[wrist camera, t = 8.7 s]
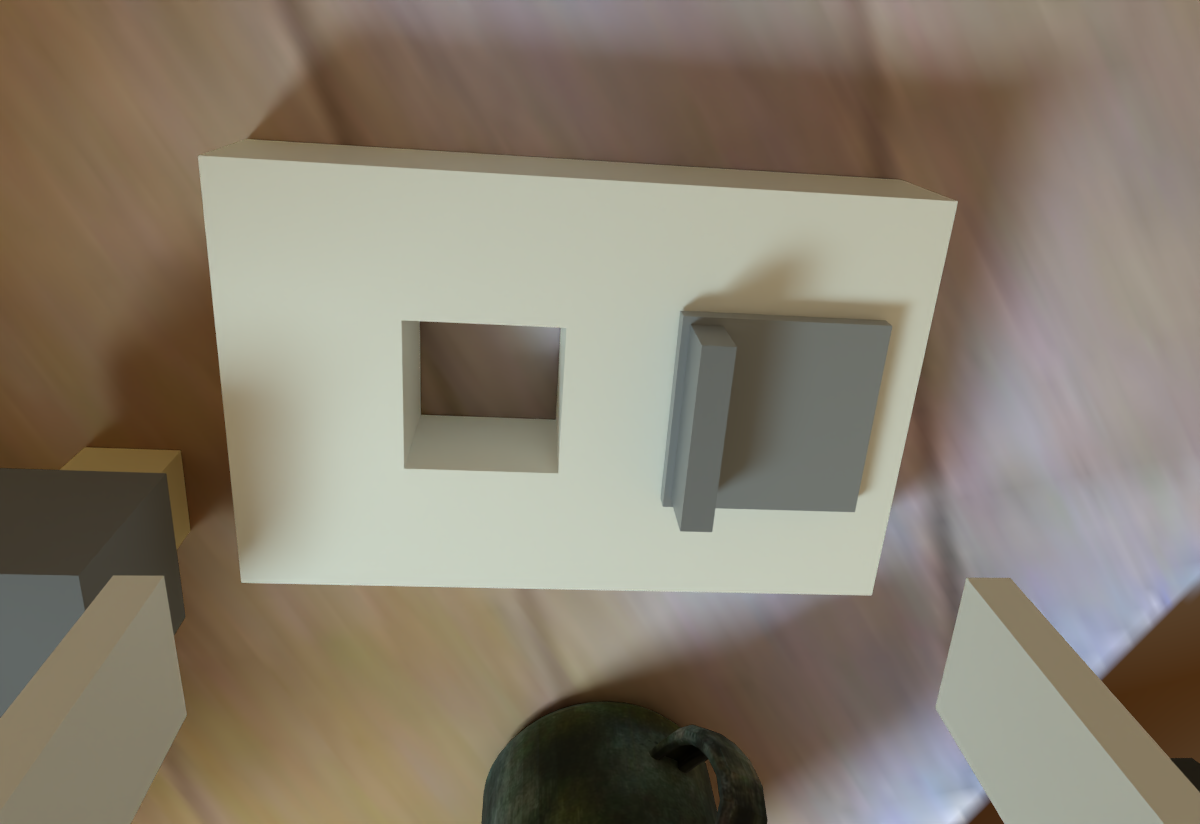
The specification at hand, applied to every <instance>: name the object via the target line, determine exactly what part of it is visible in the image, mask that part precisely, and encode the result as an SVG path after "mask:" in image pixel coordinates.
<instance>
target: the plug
mask: <svg viewBox="0 0 1200 824" xmlns="http://www.w3.org/2000/svg"><path fill="white" fill-rule="evenodd" d="M190 531H191V530H190V522H189V514H188V505H187V497H186V489H185V481H184V473H183V465H182V457H181V450H152V449H122V448H91V447H84V448H83V449H82V450H81V451H80V452H79V453H78V454H77V455H76V456H74V457H73V458H72V459H71V460H70V461H69V462H68V463H67V464H65V465H64V466H63V467H62V468H61V469H60V470H44V469H11V468H0V718H1V717H2V715H3V714H4V713H5V712H6V710H7V709H8V708H9V707H10V705H11V704H12V703H13V702H14V700H15V699H16V698H17V696H18V695H19V694H20V693H21V691H22V690H23V689H24V688H25V686H26V685H27V684H28V683H29V681H30V680H31V679H32V677H33V676H34V675H35V674H36V672H37V671H38V670H39V669H40V667H41V666H42V665H43V664H44V662H45V661H46V660H47V658H48V657H49V656H50V655H51V653H52V652H53V651H54V650H55V648H56V647H57V646H58V645H59V643H60V642H61V641H62V640H63V638H64V637H65V636H66V634H67V633H68V632H69V631H70V629H71V628H72V627H73V626H74V624H75V623H76V622H77V621H78V619H79V618H80V617H81V615H82V614H83V613H84V612H85V610H86V609H87V608H88V607H89V605H90V604H91V603H92V602H93V600H94V599H95V598H96V596H97V595H98V594H99V593H100V591H101V590H102V589H103V588H104V586H105V585H106V584H107V583H108V581H109V580H110V579H111V577H112V576H113V575H115V576H164V579H165V585H166V591H167V597H168V603H169V609H170V616H171V622H172V628H173V634H174V635H175V633H176V631H177V630H178V628H179V627H180V625H181V623H182V622H183V620H184V618H185V610H184V603H183V595H182V587H181V580H180V572H179V565H178V557H177V549H178V548H179V546H180V545H181V543H182V542H183V540H184V539H185V538H186V536H187V535H188V533H189V532H190Z"/></svg>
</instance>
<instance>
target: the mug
mask: <svg viewBox="0 0 1200 824" xmlns="http://www.w3.org/2000/svg"><path fill="white" fill-rule="evenodd" d="M708 759H709V761H710V763H711V765H712V767H713V769H714V771H715V773H716V776H717V783H718V790H719V797H720V803H719V807H718V812H717V809H716V804H715V800H714V796H713V792H712V787H711V783H710V779H709V775H708V770H707V767H706V764H705V761H706V760H708ZM482 824H767V815H766V808H765V801H764V794H763V787H762V784H761V782H760V780H759V778H758V776H757V774H756V772H755V770H754V768H753V766H752V764H751V762H750V760H749V759H748V758H747V757H746V756H745V754H744V753H743V752H742V751H741V750H740V749H739V748H738V747H737V746H736V745H735V744H734V743H733V742H731V741H730V740H729V739H727V738H726V737H724V736H723V735H721V734H719V733H716V732H713V731H710V730H708V729H705V728H701V727H698V726H695V725H689V726H686V727H682V728H680V727H679V726H678V725H677V724H675V723H674V722H672V721H670V720H669V719H667V718H665V717H663V716H662V715H660V714H658V713H656V712H654V711H652V710H649V709H646V708H644V707H641V706H637V705H632V704H628V703H621V702H609V701H607V702H589V703H583V704H577V705H573V706H569V707H566V708H563V709H559V710H557V711H555V712H552V713H550V714H548V715H546V716H543V717H542V718H540V719H538V720H537V721H535V722H533V723H532V724H530V725H529V726H527V727H526V728H525V729H524V730H523V731H521V732H520V733H519V734H518V735H517V736H516V737H514V738H513V739H512V740H511V741H510V742H509V744H508V745H507V746H506V747H505V748H504V749H503V750H502V751H501V753H500V754H499V755H498V757H497V759H496V760H495V762H494V763H493V765H492V767H491V769H490V772H489V774H488V777H487V779H486V784H485V789H484V796H483V810H482Z"/></svg>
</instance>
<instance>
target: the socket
mask: <svg viewBox="0 0 1200 824" xmlns="http://www.w3.org/2000/svg"><path fill="white" fill-rule="evenodd" d="M198 162H199V172H200V182H201V192H202V202H203V212H204V221H205V231H206V241H207V251H208V261H209V270H210V280H211V290H212V300H213V310H214V319H215V329H216V339H217V349H218V359H219V369H220V378H221V388H222V398H223V408H224V418H225V427H226V437H227V447H228V457H229V467H230V476H231V486H232V496H233V506H234V516H235V526H236V535H237V545H238V555H239V565H240V575H241V583H272V584H322V585H372V586H421V587H471V588H521V589H571V590H621V591H671V592H720V593H770V594H820V595H870V596H872V592H873V587H874V583H875V578H876V574H877V569H878V565H879V560H880V556H881V551H882V546H883V542H884V537H885V533H886V528H887V524H888V519H889V514H890V510H891V505H892V501H893V496H894V492H895V487H896V482H897V478H898V473H899V469H900V464H901V460H902V455H903V451H904V446H905V441H906V437H907V432H908V428H909V423H910V419H911V414H912V409H913V405H914V400H915V396H916V391H917V387H918V382H919V377H920V373H921V368H922V364H923V359H924V355H925V350H926V345H927V341H928V336H929V332H930V327H931V323H932V318H933V314H934V309H935V304H936V300H937V295H938V291H939V286H940V282H941V277H942V272H943V268H944V263H945V259H946V254H947V250H948V245H949V240H950V236H951V231H952V227H953V222H954V218H955V213H956V208H957V204H958V201H956V200H953V199H950V198H948V197H945V196H943V195H940V194H937V193H935V192H932V191H929V190H927V189H924V188H922V187H919V186H916V185H914V184H911V183H909V182H906V181H903V180H898V179H882V178H866V177H850V176H833V175H817V174H801V173H785V172H769V171H753V170H737V169H721V168H705V167H689V166H673V165H657V164H640V163H624V162H608V161H592V160H576V159H560V158H544V157H528V156H512V155H496V154H480V153H463V152H447V151H431V150H415V149H399V148H383V147H367V146H351V145H335V144H319V143H303V142H287V141H270V140H254V139H245V140H242V141H239V142H236V143H233V144H230V145H227V146H224V147H222V148H219V149H216V150H213V151H210V152H207V153H204V154H201V155H198ZM680 311H700V312H721V313H742V314H763V315H784V316H805V317H826V318H847V319H867V320H886V321H887V322H888V323H889V324H891V325H892V331H891V336H890V341H889V346H888V351H887V356H886V361H885V366H884V371H883V376H882V380H881V385H880V390H879V395H878V400H877V405H876V410H875V415H874V420H873V425H872V430H871V435H870V440H869V445H868V450H867V455H866V460H865V465H864V470H863V475H862V480H861V485H860V489H859V494H858V499H857V504H856V509H855V512H829V511H794V510H759V509H723V508H715V515H714V523H713V530H712V532H685V531H680V529H679V526H678V522H677V519H676V515H675V512H674V509H673V507H663V506H662V502H661V488H662V479H663V469H664V460H665V450H666V441H667V432H668V422H669V413H670V403H671V394H672V384H673V375H674V365H675V356H676V347H677V337H678V328H679V318H680ZM420 321H427V322H449V323H471V324H493V325H515V326H536V327H558V328H561V329H560V348H559V366H558V385H557V404H556V420H551V419H524V418H497V417H469V416H442V415H421V376H420Z"/></svg>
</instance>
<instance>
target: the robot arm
mask: <svg viewBox="0 0 1200 824" xmlns="http://www.w3.org/2000/svg"><path fill="white" fill-rule="evenodd" d="M935 709H936V710H937V712H938V714H939V715H940V717H941V719H942V720H943V722H944V724H945V725H946V727H947V729H948V730H949V732H950V734H951V735H952V737H953V739H954V740H955V742H956V744H957V745H958V747H959V749H960V750H961V752H962V754H963V755H964V757H965V759H966V760H967V762H968V764H969V765H970V767H971V769H972V770H973V772H974V774H975V775H976V777H977V779H978V780H979V782H980V784H981V785H982V787H983V789H984V790H985V792H986V794H987V795H988V797H989V799H990V800H991V802H992V804H993V805H994V807H995V808H996V810H997V812H998V813H999V815H1000V817H1001V818H1002V820H1003V822H1004V824H1200V763H1198V762H1196V761H1195V760H1194V759H1192V758H1169V757H1168V756H1167V755H1166V754H1165V753H1164V751H1163V750H1162V749H1161V748H1160V747H1159V746H1158V745H1157V744H1156V743H1155V741H1154V740H1153V739H1152V738H1151V737H1150V736H1149V735H1148V733H1147V732H1146V731H1145V730H1144V729H1143V728H1142V727H1141V726H1140V724H1139V723H1138V722H1137V721H1136V720H1135V719H1134V718H1133V717H1132V715H1131V714H1130V713H1129V712H1128V711H1127V710H1126V708H1125V707H1124V706H1123V705H1122V704H1121V703H1120V702H1119V701H1118V699H1116V697H1115V696H1114V695H1113V694H1112V693H1111V692H1110V691H1109V689H1108V688H1107V687H1106V686H1105V685H1104V684H1103V682H1102V681H1101V680H1100V679H1099V678H1098V677H1097V676H1096V675H1095V673H1094V672H1093V671H1092V670H1091V669H1090V668H1089V667H1088V666H1087V664H1086V663H1085V662H1084V661H1083V660H1082V659H1081V658H1080V656H1079V655H1078V654H1077V653H1076V652H1075V651H1074V650H1073V649H1072V647H1071V646H1070V645H1069V644H1068V643H1067V642H1066V641H1065V640H1064V638H1063V637H1062V636H1061V635H1060V634H1059V633H1058V632H1057V630H1056V629H1055V628H1054V627H1053V626H1052V625H1051V624H1050V623H1049V621H1048V620H1047V619H1046V618H1045V617H1044V616H1043V615H1042V614H1041V612H1040V611H1039V610H1038V609H1037V608H1036V607H1035V606H1034V604H1033V603H1032V602H1031V601H1030V600H1029V599H1028V598H1027V597H1026V595H1025V594H1024V593H1023V592H1022V591H1021V590H1020V589H1019V588H1018V586H1017V585H1016V584H1015V583H1014V582H1013V581H1012V580H1011V578H966V582H965V586H964V590H963V594H962V599H961V603H960V607H959V611H958V615H957V619H956V623H955V628H954V632H953V636H952V640H951V644H950V648H949V652H948V657H947V661H946V665H945V669H944V673H943V677H942V681H941V686H940V690H939V694H938V698H937V702H936V706H935ZM186 716H187V712H186V706H185V700H184V694H183V688H182V682H181V676H180V670H179V664H178V658H177V652H176V646H175V640H174V634H173V628H172V622H171V616H170V609H169V603H168V597H167V591H166V585H165V579H164V576H115V575H113V576H112V577H111V579H110V580H109V581H108V583H107V584H106V585H105V586H104V588H103V589H102V590H101V591H100V593H99V594H98V595H97V596H96V598H95V599H94V600H93V602H92V603H91V604H90V605H89V607H88V608H87V609H86V610H85V612H84V613H83V614H82V615H81V617H80V618H79V619H78V621H77V622H76V623H75V624H74V626H73V627H72V628H71V629H70V631H69V632H68V633H67V634H66V636H65V637H64V638H63V640H62V641H61V642H60V643H59V645H58V646H57V647H56V648H55V650H54V651H53V652H52V653H51V655H50V656H49V657H48V658H47V660H46V661H45V662H44V664H43V665H42V666H41V667H40V669H39V670H38V671H37V672H36V674H35V675H34V676H33V677H32V679H31V680H30V681H29V683H28V684H27V685H26V686H25V688H24V689H23V690H22V691H21V693H20V694H19V695H18V696H17V698H16V699H15V700H14V702H13V703H12V704H11V705H10V707H9V708H8V709H7V710H6V712H5V713H4V714H3V715H2V717H1V718H0V824H131V822H132V820H133V818H134V816H135V814H136V813H137V811H138V809H139V807H140V805H141V803H142V801H143V799H144V797H145V795H146V793H147V791H148V789H149V787H150V785H151V783H152V782H153V780H154V778H155V776H156V774H157V772H158V770H159V768H160V766H161V764H162V762H163V760H164V758H165V756H166V754H167V753H168V751H169V749H170V747H171V745H172V743H173V741H174V739H175V737H176V735H177V733H178V731H179V729H180V727H181V725H182V724H183V722H184V720H185V718H186Z"/></svg>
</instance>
